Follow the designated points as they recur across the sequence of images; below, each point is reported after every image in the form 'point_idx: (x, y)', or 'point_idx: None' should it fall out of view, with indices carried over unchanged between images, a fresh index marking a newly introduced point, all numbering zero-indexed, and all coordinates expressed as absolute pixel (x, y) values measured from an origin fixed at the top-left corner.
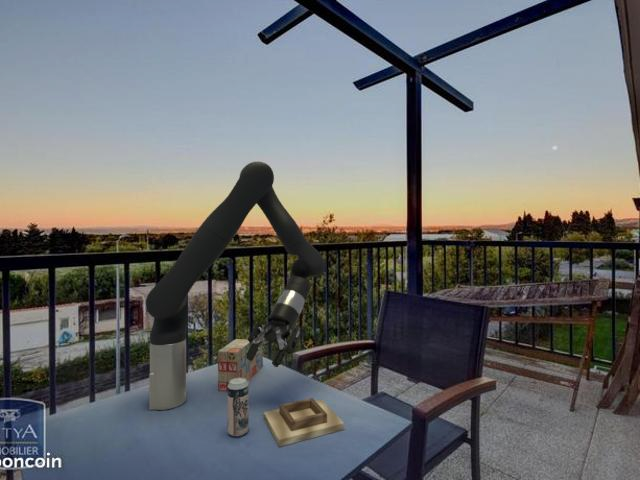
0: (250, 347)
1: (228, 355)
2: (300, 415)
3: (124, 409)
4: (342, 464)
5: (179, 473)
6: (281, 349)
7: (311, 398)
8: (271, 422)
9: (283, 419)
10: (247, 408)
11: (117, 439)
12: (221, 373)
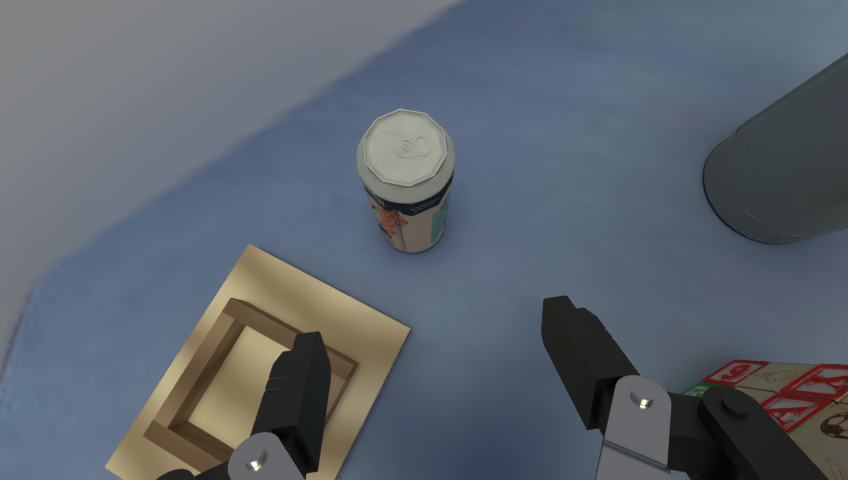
0: (624, 362)
1: None
2: None
3: None
4: (60, 300)
5: (385, 51)
6: (251, 438)
7: None
8: (337, 297)
9: None
10: (374, 212)
11: (629, 22)
12: (794, 372)
